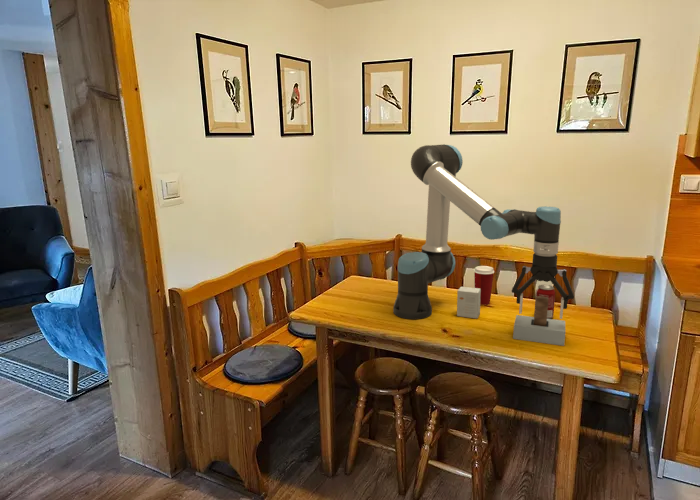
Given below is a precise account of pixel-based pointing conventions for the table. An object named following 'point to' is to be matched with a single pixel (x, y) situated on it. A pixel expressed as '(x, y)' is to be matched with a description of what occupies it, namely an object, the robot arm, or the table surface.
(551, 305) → the soda can
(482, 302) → the coffee cup
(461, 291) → the small box
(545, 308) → the peg
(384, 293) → the table surface
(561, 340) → the socket block
